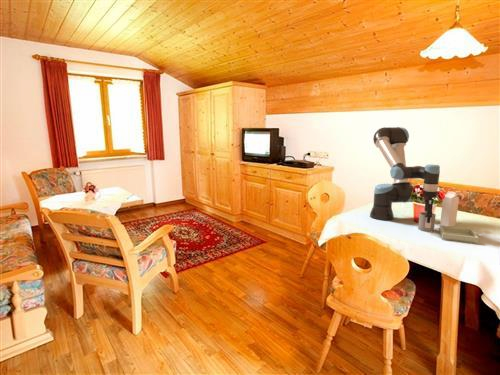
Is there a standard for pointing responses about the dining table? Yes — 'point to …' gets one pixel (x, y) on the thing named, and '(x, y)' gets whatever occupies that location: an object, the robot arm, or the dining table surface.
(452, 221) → the milk
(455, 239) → the bin
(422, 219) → the cup
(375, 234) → the dining table surface
